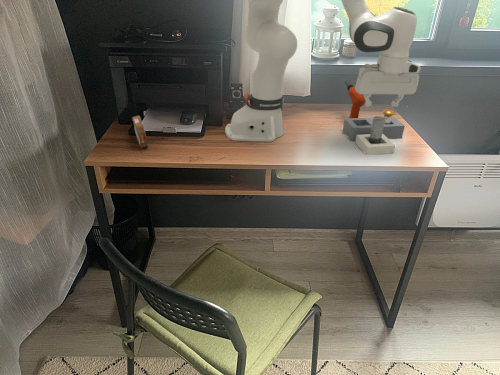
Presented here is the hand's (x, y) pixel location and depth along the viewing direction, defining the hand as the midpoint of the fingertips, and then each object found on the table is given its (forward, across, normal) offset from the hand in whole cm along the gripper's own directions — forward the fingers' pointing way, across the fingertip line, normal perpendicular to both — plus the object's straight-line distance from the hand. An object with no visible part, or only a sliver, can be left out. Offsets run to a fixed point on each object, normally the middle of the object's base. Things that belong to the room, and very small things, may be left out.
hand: (381, 106), depth 127 cm
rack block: (+15, +1, 0) cm, 15 cm away
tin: (+18, -81, +14) cm, 84 cm away
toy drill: (+15, +1, +25) cm, 29 cm away
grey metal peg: (+15, +1, 0) cm, 15 cm away
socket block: (+15, +5, +11) cm, 19 cm away
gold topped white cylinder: (+15, +10, +11) cm, 21 cm away
